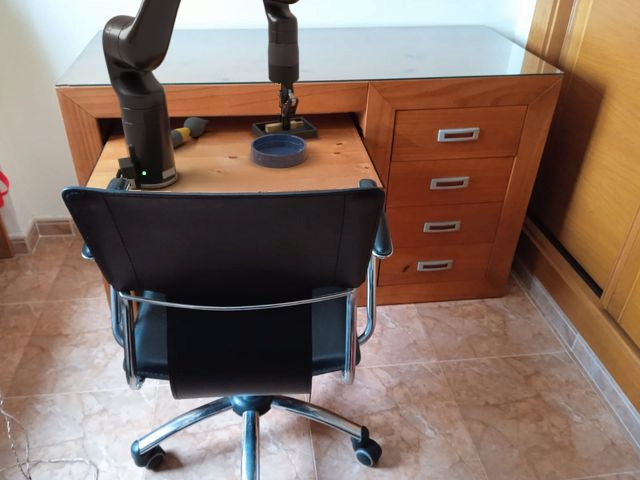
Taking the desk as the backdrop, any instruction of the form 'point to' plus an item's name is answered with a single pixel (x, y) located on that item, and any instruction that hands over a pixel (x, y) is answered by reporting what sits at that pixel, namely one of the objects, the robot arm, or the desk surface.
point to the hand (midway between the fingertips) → (284, 128)
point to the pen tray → (301, 131)
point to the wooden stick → (278, 126)
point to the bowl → (278, 150)
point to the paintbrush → (188, 130)
